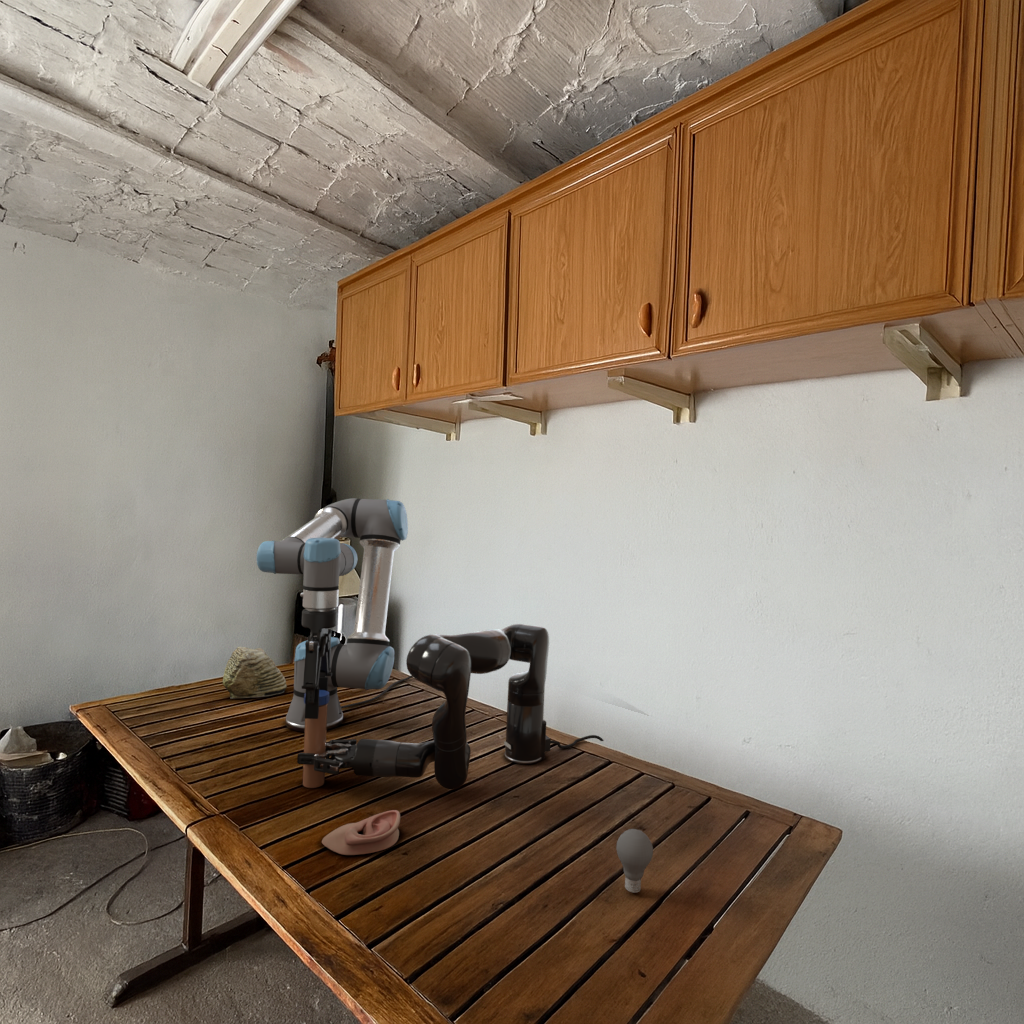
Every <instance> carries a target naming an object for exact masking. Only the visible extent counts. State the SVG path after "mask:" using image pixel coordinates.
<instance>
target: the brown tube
mask: <svg viewBox="0 0 1024 1024" xmlns="http://www.w3.org/2000/svg"><path fill="white" fill-rule="evenodd" d="M326 729H327V704H325V705H320V706H319V715H318V719H305V732H303V733H304V735H303V736H304V737H303V741H304V742H303V753H314V754H321V753H326V743H327V730H326ZM302 765H303V766H302V786H303V787H305V788H308V789H315V788H319V787H322V786H323V785H324V784H325V783H326V782H325V779H326V778H325V777H326V773H324V772H319V771H315V770H314V765H307V764H302Z"/></svg>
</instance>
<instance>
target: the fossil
mask: <svg viewBox="0 0 1024 1024" xmlns="http://www.w3.org/2000/svg"><path fill="white" fill-rule="evenodd" d="M222 676H223V677H222V685H223V687H224V688H225V690H226V691H228V693H229V698H230V699H250V698H264V697H271V696H275V695H281V694H284V693H285V691H286V689H287V687H288V686H287V680H286V678H285V676H284V674H283V673H282V672H281V669H279V668H278V667H277V665H276V663H275V662H274V660H273V659H272V658H271V657H270V656H269V655H268V654H267V653H266V652H265V650H264V649H263V648H260V647H258V648H251V647H247V646H246V647H245V646H238V647H237V648H236V649H235V650H233V651H232V653H231V656H230V657H229V659H228V660H227V663H226V666H225V668H224V671H223V675H222Z"/></svg>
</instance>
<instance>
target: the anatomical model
mask: <svg viewBox="0 0 1024 1024" xmlns="http://www.w3.org/2000/svg"><path fill="white" fill-rule="evenodd" d="M400 823H401V813H400V811H399V810H397V809H392V810H391V809H390V810H387V811H383V812H380V813H377V814H373V815H371V816H369V817H367V818H365V819H362V820H360V821H356V822H349V823H346V824H344V825H341V826H339V827H337V828H335V829H334V830H332V831H331V832H329V833H328V834H326V835H325V836H324V837H323V838H322V840H321V844H322V845H323V846H324V847H325V848H327V849H328V850H330V851H332V852H334V853H337V854H339V855H342V856H356V855H357V856H358V855H366V854H371V853H378V852H382V851H383V850H386V849H388V848H390V847H392V846H394V845H395V844H396V843H397V842H398V840H399V836H400V830H399V827H400Z"/></svg>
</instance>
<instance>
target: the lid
mask: <svg viewBox="0 0 1024 1024" xmlns="http://www.w3.org/2000/svg"><path fill="white" fill-rule="evenodd" d="M305 698H306V693H305V694H304V703H305ZM329 699H330V695H329V692H328V691H325V690H319V706H320V705H325V704H327V703H328V702H329Z"/></svg>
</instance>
